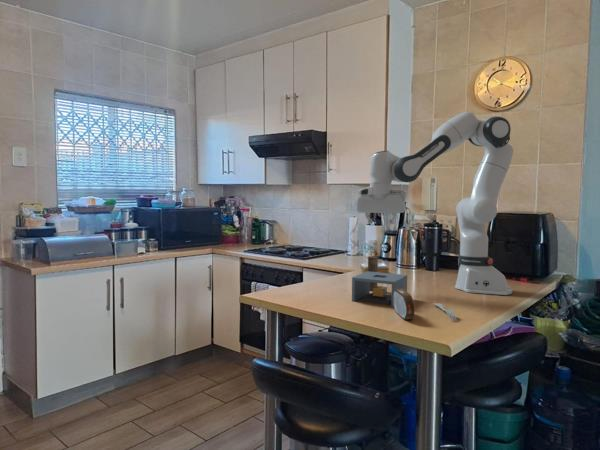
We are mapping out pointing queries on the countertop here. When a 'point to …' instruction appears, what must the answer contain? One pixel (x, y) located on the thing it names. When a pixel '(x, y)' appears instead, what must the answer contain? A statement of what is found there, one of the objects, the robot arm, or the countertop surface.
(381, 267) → the soap dish
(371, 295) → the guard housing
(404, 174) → the robot arm
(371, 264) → the brown wooden bar
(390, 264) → the countertop surface
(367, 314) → the countertop surface
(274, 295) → the countertop surface
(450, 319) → the fork
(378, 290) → the button
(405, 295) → the tin
